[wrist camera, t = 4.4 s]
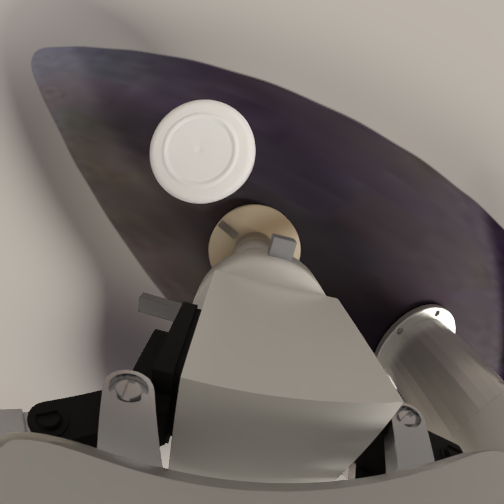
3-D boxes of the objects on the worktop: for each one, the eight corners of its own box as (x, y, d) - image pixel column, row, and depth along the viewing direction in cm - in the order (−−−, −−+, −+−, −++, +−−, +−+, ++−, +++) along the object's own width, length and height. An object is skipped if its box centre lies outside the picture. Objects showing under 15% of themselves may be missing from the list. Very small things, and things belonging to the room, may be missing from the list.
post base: (315, 244, 25) (364, 299, 14) (257, 303, 27) (263, 388, 15) (250, 185, 24) (253, 194, 12) (193, 251, 25) (152, 311, 14)
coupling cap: (345, 251, 13) (455, 351, 5) (293, 379, 15) (319, 506, 7) (167, 205, 12) (45, 262, 4) (147, 346, 14) (89, 467, 6)
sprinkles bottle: (262, 162, 23) (279, 146, 10) (227, 199, 24) (203, 228, 11) (224, 128, 23) (198, 77, 10) (189, 166, 23) (126, 158, 10)
